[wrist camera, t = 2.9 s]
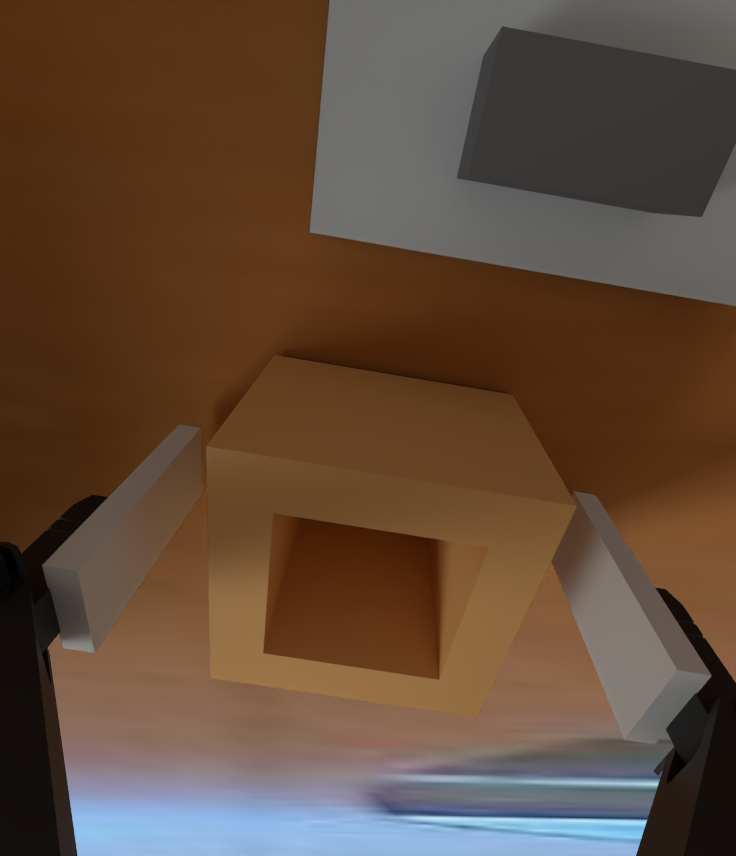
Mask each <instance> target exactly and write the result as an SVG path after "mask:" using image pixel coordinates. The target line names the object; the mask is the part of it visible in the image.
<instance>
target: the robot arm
mask: <svg viewBox="0 0 736 856" xmlns="http://www.w3.org/2000/svg"><path fill="white" fill-rule="evenodd" d="M202 492H203V489H202V446H201V428H198V427H192V426H186V425H180V424H179V425H178V426H177V427H176V428H175V429H174V430H173V431H172V432H171V433H170V434H169V435H168V436H167V437H166V438H165V439H164V440H163V441H162V442H161V443H160V444H159V446H158V447H157V448H156V449H155V450H154V451H153V452H152V453H151V454H150V455H149V456H148V457H147V458H146V459H145V460H144V461H143V462H142V463H141V464H140V465H139V466H138V467H137V468H136V469H135V470H134V471H133V472H132V473H131V474H130V475H129V476H128V477H127V478H126V479H125V480H124V482H123V483H122V484H121V485H120V486H119V487H118V488H117V489H116V490H115V491H114V492H113V493H112V494H111V495H110V496H109V497H103V496H97V495H91V496H89V497H87V498H85V499H83V500H81V501H80V502H78V503H76V504H74V505H73V506H72V507H71V508H69V509H68V510H67V511H66V512H65V513H64V514H63V515H62V516H61V517H60V520H57V521H56V522H55V523H54V524H52V525H51V526H50V527H49V530H48V531H47V530H46V531H45V532H44V533H43V534H42V535H41V536H40V537H39V538H38V539H37V540H36V541H34V542H33V543H32V544H31V545H30V546H29V547H28V548H27V549H26V550H25V551H24V552H23V553H22V554H21V552H20V550H19V548H18V547H17V546H15V545H13V544H11V543H9V542H0V856H77V850H76V843H75V836H74V828H73V821H72V814H71V807H70V799H69V792H68V785H67V778H66V770H65V763H64V756H63V749H62V741H61V734H60V727H59V720H58V712H57V705H56V698H55V691H54V683H53V676H52V669H51V662H50V654H49V651H48V646H49V645H50V644H51V642H52V641H53V640H54V639H55V637H56V636H57V635H58V634H60V638H61V642H62V646H63V648H66V649H72V650H78V651H84V652H90V653H95V652H96V650H97V649H98V647H99V646H100V644H101V643H102V641H103V640H104V638H105V637H106V635H107V634H108V632H109V631H110V629H111V628H112V626H113V625H114V623H115V622H116V620H117V619H118V618H119V616H120V615H121V613H122V612H123V610H124V609H125V607H126V606H127V604H128V603H129V601H130V600H131V598H132V597H133V595H134V594H135V592H136V591H137V589H138V588H139V586H140V585H141V583H142V582H143V580H144V579H145V577H146V576H147V574H148V573H149V571H150V570H151V568H152V567H153V565H154V564H155V562H156V561H157V559H158V558H159V556H160V555H161V553H162V552H163V550H164V549H165V548H166V546H167V545H168V543H169V542H170V540H171V539H172V537H173V536H174V534H175V533H176V531H177V530H178V528H179V527H180V525H181V524H182V522H183V521H184V519H185V518H186V516H187V515H188V513H189V512H190V510H191V509H192V507H193V506H194V504H195V503H196V501H197V500H198V498H199V497H200V495H201V494H202ZM572 498H573V500H574V502H575V503H576V505H577V507H576V510H575V512H574V514H573V516H572V518H571V520H570V522H569V524H568V526H567V529H566V531H565V533H564V535H563V537H562V539H561V541H560V543H559V546H558V548H557V550H556V552H555V554H554V556H553V558H552V560H551V561H552V564H553V566H554V568H555V571H556V573H557V576H558V578H559V581H560V583H561V586H562V588H563V591H564V593H565V595H566V598H567V600H568V603H569V605H570V608H571V610H572V613H573V615H574V618H575V620H576V623H577V625H578V627H579V630H580V632H581V635H582V637H583V640H584V642H585V645H586V647H587V650H588V652H589V655H590V657H591V659H592V662H593V664H594V667H595V669H596V672H597V674H598V677H599V679H600V682H601V684H602V686H603V689H604V691H605V694H606V696H607V699H608V701H609V704H610V706H611V709H612V711H613V714H614V716H615V718H616V721H617V723H618V726H619V728H620V731H621V733H622V736H623V738H624V740H630V741H636V742H642V743H648V744H655V743H656V742H657V741H658V740H659V739H660V737H661V736H662V735H663V734H664V733H665V731H666V730H667V732H668V734H669V736H670V739H671V741H672V743H673V745H674V748H673V749H672V750H671V751H670V752H669V753H668V755H667V756H666V757H665V758H664V759H663V760H662V761H661V763H660V764H659V765H658V766H657V767H656V769H655V770H654V772H655V773H656V774H657V775H659V774H660V773H661V772H662V770H663V772H662V775H661V778H660V781H659V785H658V788H657V791H656V794H655V797H654V801H653V804H652V807H651V810H650V813H649V817H648V820H647V823H646V826H645V829H644V833H643V836H642V839H641V842H640V845H639V849H638V852H637V855H636V856H736V683H735V681H734V680H733V678H732V677H731V675H730V674H729V672H728V671H727V670H726V668H725V667H724V665H723V664H722V662H721V661H720V659H719V658H718V656H717V655H716V653H715V652H714V651H713V649H712V648H711V646H710V645H709V643H708V642H707V640H706V639H705V638H703V634H702V633H701V631H700V630H699V629H698V627H697V626H696V625H694V624H693V622H694V621H693V620H692V618H691V617H690V615H689V614H688V612H687V611H686V609H685V608H684V607H683V605H682V604H681V603H680V602H679V601H678V600H677V599H675V598H674V597H673V596H672V595H671V594H670V593H669V592H668V591H667V590H666V589H660V588H655V587H654V585H653V584H652V582H651V580H650V579H649V577H648V576H647V574H646V573H645V571H644V570H643V568H642V566H641V565H640V563H639V562H638V560H637V559H636V557H635V556H634V554H633V552H632V551H631V549H630V548H629V546H628V545H627V543H626V542H625V540H624V538H623V537H622V535H621V534H620V532H619V531H618V529H617V528H616V526H615V524H614V523H613V521H612V520H611V518H610V517H609V515H608V514H607V512H606V510H605V509H604V507H603V506H602V504H601V503H600V501H599V500H598V498H597V496H596V495H594V494H588V493H582V492H576V491H574V492H573V494H572Z"/></svg>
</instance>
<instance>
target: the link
mask: <svg viewBox="0 0 736 856" xmlns="http://www.w3.org/2000/svg"><path fill="white" fill-rule="evenodd" d="M206 467H207V523H208V578H209V633H210V678H213V679H220V680H226V681H233V682H240V683H247V684H253V685H260V686H267V687H273V688H280V689H287V690H293V691H300V692H307V693H314V694H320V695H327V696H334V697H340V698H347V699H354V700H360V701H367V702H374V703H380V704H387V705H394V706H401V707H407V708H414V709H421V710H427V711H434V712H441V713H447V714H454V715H461V716H468V717H474V718H478V715H479V713H480V711H481V709H482V707H483V705H484V703H485V701H486V698H487V696H488V694H489V692H490V690H491V688H492V686H493V684H494V681H495V679H496V677H497V675H498V673H499V671H500V669H501V667H502V664H503V662H504V660H505V658H506V656H507V654H508V652H509V650H510V647H511V645H512V643H513V641H514V639H515V637H516V635H517V633H518V631H519V628H520V626H521V624H522V622H523V620H524V618H525V616H526V614H527V611H528V609H529V607H530V605H531V603H532V601H533V599H534V597H535V594H536V592H537V590H538V588H539V586H540V584H541V582H542V580H543V577H544V575H545V573H546V571H547V569H548V567H549V565H550V563H551V560H552V558H553V556H554V554H555V552H556V550H557V548H558V546H559V543H560V541H561V539H562V537H563V535H564V533H565V531H566V529H567V526H568V524H569V522H570V520H571V518H572V516H573V514H574V512H575V510H576V507H577V505H576V503H575V502H574V500H573V498H572V496H571V495H570V493H569V491H568V490H567V488H566V486H565V484H564V483H563V481H562V479H561V477H560V476H559V474H558V472H557V471H556V469H555V467H554V465H553V464H552V462H551V460H550V458H549V457H548V455H547V453H546V452H545V450H544V448H543V446H542V445H541V443H540V441H539V439H538V438H537V436H536V434H535V432H534V431H533V429H532V427H531V426H530V424H529V422H528V420H527V419H526V417H525V415H524V413H523V412H522V410H521V408H520V407H519V405H518V403H517V401H516V400H515V398H514V396H513V395H512V394H506V393H500V392H494V391H488V390H482V389H476V388H470V387H464V386H458V385H452V384H446V383H440V382H434V381H428V380H422V379H416V378H410V377H404V376H398V375H392V374H386V373H380V372H374V371H368V370H362V369H356V368H350V367H344V366H338V365H332V364H326V363H320V362H314V361H308V360H302V359H296V358H290V357H284V356H278V355H274V356H273V358H272V359H271V360H270V362H269V363H268V364H267V366H266V367H265V368H264V370H263V371H262V372H261V374H260V375H259V376H258V378H257V379H256V380H255V382H254V383H253V384H252V386H251V387H250V388H249V390H248V391H247V392H246V394H245V395H244V396H243V398H242V399H241V400H240V402H239V403H238V404H237V406H236V407H235V408H234V410H233V411H232V412H231V414H230V415H229V416H228V418H227V419H226V420H225V422H224V423H223V424H222V426H221V427H220V428H219V430H218V431H217V432H216V434H215V435H214V436H213V438H212V439H211V440H210V442H209V443H208V444H207V446H206Z"/></svg>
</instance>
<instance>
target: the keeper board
mask: <svg viewBox="0 0 736 856" xmlns="http://www.w3.org/2000/svg"><path fill="white" fill-rule="evenodd" d="M310 232H311V233H316V234H322V235H328V236H334V237H339V238H345V239H351V240H357V241H362V242H368V243H374V244H380V245H386V246H391V247H397V248H403V249H409V250H414V251H420V252H426V253H432V254H437V255H443V256H449V257H455V258H460V259H466V260H472V261H478V262H484V263H489V264H495V265H501V266H507V267H512V268H518V269H524V270H530V271H535V272H541V273H547V274H553V275H558V276H564V277H570V278H576V279H582V280H587V281H593V282H599V283H605V284H610V285H616V286H622V287H628V288H633V289H639V290H645V291H651V292H656V293H662V294H668V295H674V296H680V297H685V298H691V299H697V300H703V301H708V302H714V303H720V304H726V305H731V306H736V0H330V1H329V13H328V25H327V36H326V48H325V59H324V71H323V83H322V94H321V106H320V117H319V129H318V141H317V152H316V164H315V175H314V187H313V199H312V210H311V222H310Z"/></svg>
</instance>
